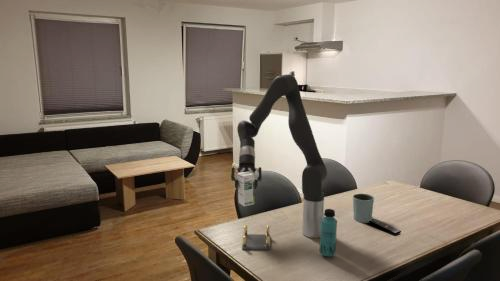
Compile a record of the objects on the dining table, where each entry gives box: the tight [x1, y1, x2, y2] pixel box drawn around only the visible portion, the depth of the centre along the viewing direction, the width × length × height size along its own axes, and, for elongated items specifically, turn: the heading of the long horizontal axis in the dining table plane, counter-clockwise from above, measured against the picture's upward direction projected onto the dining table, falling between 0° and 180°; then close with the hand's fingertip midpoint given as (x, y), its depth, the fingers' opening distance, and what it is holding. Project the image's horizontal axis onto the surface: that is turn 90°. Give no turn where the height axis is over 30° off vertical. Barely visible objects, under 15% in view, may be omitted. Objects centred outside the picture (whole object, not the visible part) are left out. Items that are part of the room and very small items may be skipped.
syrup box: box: [237, 171, 256, 207], centre depth 168 cm, size 6×6×14 cm
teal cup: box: [352, 193, 375, 224], centre depth 186 cm, size 10×10×12 cm
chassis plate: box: [241, 225, 271, 251], centre depth 162 cm, size 12×12×6 cm
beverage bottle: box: [319, 208, 338, 257], centre depth 150 cm, size 6×7×20 cm
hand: (246, 188), depth 167 cm, fingers closed on syrup box, 7 cm apart
